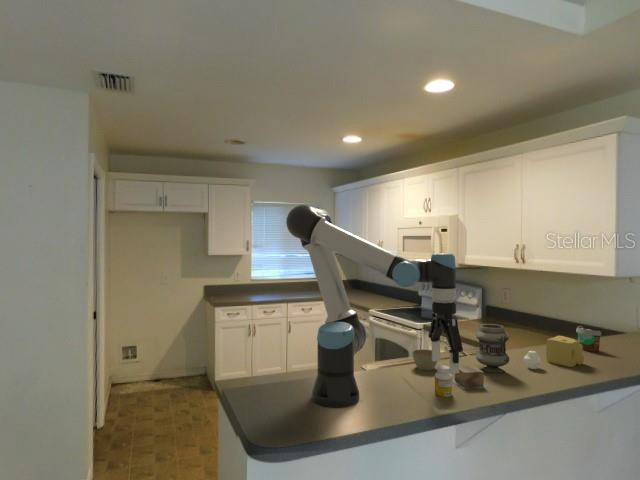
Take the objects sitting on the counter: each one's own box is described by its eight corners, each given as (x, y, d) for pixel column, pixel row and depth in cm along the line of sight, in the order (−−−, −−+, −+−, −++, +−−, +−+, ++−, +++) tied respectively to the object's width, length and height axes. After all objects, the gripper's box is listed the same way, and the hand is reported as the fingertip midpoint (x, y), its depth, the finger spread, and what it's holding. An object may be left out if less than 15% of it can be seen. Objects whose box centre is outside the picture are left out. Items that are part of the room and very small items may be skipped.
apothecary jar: (473, 366, 170) (473, 322, 170) (505, 368, 168) (505, 323, 168) (478, 376, 158) (478, 328, 158) (512, 378, 156) (513, 329, 156)
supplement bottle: (436, 392, 140) (436, 363, 140) (453, 395, 138) (453, 365, 138) (433, 398, 136) (433, 368, 136) (450, 401, 133) (450, 370, 133)
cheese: (583, 363, 175) (583, 339, 175) (571, 368, 169) (571, 343, 169) (557, 358, 184) (558, 335, 184) (544, 362, 177) (545, 338, 177)
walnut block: (464, 387, 143) (464, 372, 143) (454, 380, 150) (454, 366, 150) (483, 386, 144) (483, 371, 144) (473, 379, 151) (473, 365, 151)
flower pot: (439, 375, 158) (439, 356, 158) (412, 373, 160) (412, 355, 160) (437, 367, 168) (437, 349, 168) (412, 366, 170) (412, 348, 170)
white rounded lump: (544, 369, 167) (544, 351, 167) (534, 371, 164) (534, 353, 165) (530, 365, 173) (530, 347, 173) (520, 366, 170) (520, 349, 170)
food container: (569, 346, 203) (569, 325, 203) (581, 346, 204) (581, 325, 204) (588, 353, 191) (588, 331, 191) (601, 353, 192) (601, 331, 192)
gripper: (474, 306, 125) (475, 378, 125) (438, 296, 150) (439, 355, 150) (450, 307, 124) (451, 379, 124) (418, 296, 149) (419, 356, 149)
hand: (444, 366), depth 137 cm, fingers open, 13 cm apart
